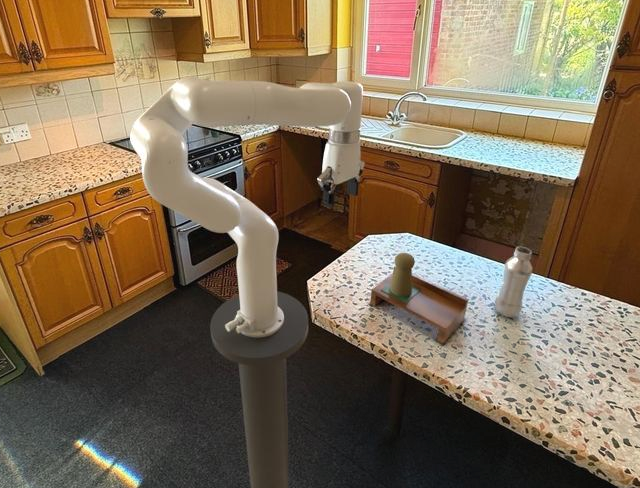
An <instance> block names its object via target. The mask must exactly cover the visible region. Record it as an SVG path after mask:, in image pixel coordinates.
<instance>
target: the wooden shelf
mask: <svg viewBox="0 0 640 488" xmlns="http://www.w3.org/2000/svg"><path fill="white" fill-rule="evenodd" d="M395 267H396V265H395V266H393V271H392V273H390V275H388V276H387V277H386V278H384V279H383V280H382V281H381V282H379V283H377V285H375V286H374V287H373V288H371V291H370V301H369V304H370V305H372V306H373V307H376V306H377V305H378V304H380V303H381V302H382V301H383V300H384V301H386V302H388V303H389V304H391V305H393V306H395V307H397V308H399V309H401V310H402V311H405V312H406V313H408V314H410V315H412V316H414V317H416V318H418V319H419V320H421V321H423V322H425V323H426V324H429V325H431V326H432V327H435V328H436V329H438V333H437V334H438V335H437V340H436V341H437V342H438V343H441V344H443V345H444V343H446V342H447V340H448V339H449V338H450V337H451V335H453V334H454V332H455V331H456V330H457V329H458V328H459V327H460V325H461V324H462V323H463V322H464V320H465V316H466V312H467V308H468V304H469V300H470V299H468V297H467V298H466V297H464V296H462V295H461V294H458V293H456V292H454V291H452V290H449V289H447V288H445V287H443V286H441V285H439V284H436V283H434V282H432V281H430V280H428V279H426V278H423V277H421V276H419V275H417V274H414V273H413V272H412V293H411V294H410V295H408V296H398V295H395V294H393V293H392V292H391V291H390V285H391V281H392V278H393V274H394V271H395Z"/></svg>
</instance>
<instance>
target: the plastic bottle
mask: <svg viewBox="0 0 640 488" xmlns="http://www.w3.org/2000/svg"><path fill="white" fill-rule="evenodd" d="M532 254H533V252H532V250H531V249H530V248H528V247H525V246H516V247H515V250H514V252H513V256H511V257H510V258H508V259H507V260H506V261H505V263H504V269H503V277H502V282H501V286H500V290H499V292H498V294H497V295H496V297H495V299H494V308H495V310H496V311H497V313H498V314H500V315H501V316H503V317H506V318H516V317H517V316H519V315H520V313H521V312H522V310H523V298H524V293H525V290H526V287H527V284H528V282H529V281H530V279H531V277H532V275H533V265H532V263H531V261H530V260H531V258H532Z"/></svg>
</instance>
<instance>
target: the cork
mask: <svg viewBox="0 0 640 488" xmlns="http://www.w3.org/2000/svg"><path fill="white" fill-rule="evenodd" d="M415 263H416V261H415V257H414V256H413V255H412V254H411V253H408V252H399V253H397V254H396V256H395V257H394V265H395V266H396V267H395V266H394V267H395V271H394V274H393V278H392V281H391V285H390V291H391V292H392V293H393V294H395V295H398V296H408V295H410V294H411V293H412V273H413V271H412V270H413V268H414V266H415Z"/></svg>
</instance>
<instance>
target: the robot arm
mask: <svg viewBox="0 0 640 488" xmlns="http://www.w3.org/2000/svg"><path fill="white" fill-rule="evenodd" d="M363 97H364V88H363V85H362V84H361V83H359V82H357V81H348V80H344V81H343V80H342V81H336V82H333V83H330V82H329V83H327V82H307V83H304V84H303V85H301V86H300V87H293V86H288V85H284V84H279V83H276V82H271V81H264V80H206V79H203V78H201V77H198V76H194V75H189V76H185V77H182V78H180V79H179V80H177V81H176V82H174V83H173V84H172V85H171V86H170V87H169V88H167V90H166V91H165V92H164V93H163V94H162V95H161V96H160V97H159V98H157V99H156V101H155V102H154V103H152V105H151V106H149V107H148V108H147V109H146V110H145V111H144V112H143V113H142V114H141V115H140V116H139V117H138V118H137V119H136V120H135V122H134V123H133V125H132V127H131V130H130V134H129V139H130V144H131V147H132V149H133V150H134V152H135V153H136V154H137V155H138V157H139V158H140V160H141V173H142V175H141V176H142V181H143V184H144V188H145V189H146V190H147V193H148V194H149V195H150V196H151V198H152V199H154V200H155V201H156V202H157V203H159V204H160V205H163V206H164V207H166V208H167V209H170V210H171V211H174V212H175V213H177V214H179V215H181V216H182V217H184V218H186V219H188V220H190V221H192V222H193V223H196V224H197V225H198V226H201V227H202V228H204V229H206V230H208V231H210V232H213V233H217V234H225V233H226V234H228V235H229V237H230V238H231V239H232V240H233V241H234V242H235V244H236V245H237V249H238V250H237V251H238V252H237V257H236V275H237V285H238V286H237V287H238V295H239V298H240V310H239V311H237V315H236V317H235V320H233V321H231V322H229V323H227V324H226V325H225V328H226V330H227V331H231V330H232V329H234V328H235V327H237V328H236V331H237V333H240V332H241V333H242V334H244V335H246V336H249V337H255V338H261V337H266V336H269V335H272V334H274V333H275V332H277V331H278V330H279V329H280V328H281V327H282V325H283V322H284V314H283V311H282V310H281V309H280V308H279V307H278V304H277V291H278V280H277V278H278V277H277V250H278V245H279V240H280V239H279V237H280V235H279V230H278V227H277V224H276V223H275V221H273V219H272V218H271V217H270V216H269V215H268V214H267V213H266V212H264V211H263V210H261V209H260V208H259V207H258V206H257V205H256V204H255V203H253V202H252V201H251V200H249V199H248V198H246V197H245V196H243V195H241V194H240V193H239V192H236V191H234V190H233V189H232V188H230V187H228V186H227V185H225V184H224V183H222V182H221V181H219V180H217V179H214V178H212V177H201V176H199V175H198V174H196V173H194V172H192V171H191V170H190V169H189V163H188V161H189V160H188V158H189V150H188V149H189V148H188V145H187V142H186V139H185V138H184V136H183V135H184V133H185V132H187V130H189V128H190V127H191V126H192V125H196V126H199V127H203V128H204V127H205V128H217V127H235V126H251V125H252V126H253V125H255V126H256V125H266V126H267V125H268V126H278V127H280V126H281V127H282V126H283V127H299V128H300V127H301V128H302V127H303V128H315V127H318V128H319V127H328V139H327V142H325V143H326V144H325V147H324V152H323V159H322V170H321V174H319V176H318V177H317V179H316V180H317V183H318V187H319V189H321V191H323V192H322V204H323V206H326V207H329V208H331V209H333V208H334V207H335V194H336V193H335V192H334V191H335V188H336V187H337V185H340V184H342V183H344V182H346V181H347V189H346V191H347V192H346V193H347V194H348V195H351V196H354V197H358V196H359V186H360V185H359V184H360V182H361V176H362V174H363V170H364V167H365V165H366V163H365V161H363V160H361V157H362V155H361V140H360V139H361V125H362V124H361V123H362V112H363V111H362V110H363ZM330 184H331V185H330ZM329 185H330V186H329Z"/></svg>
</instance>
